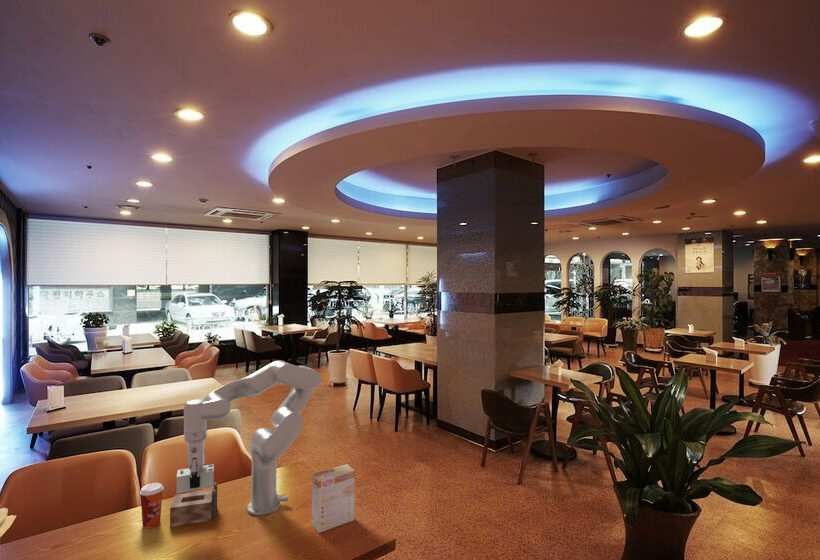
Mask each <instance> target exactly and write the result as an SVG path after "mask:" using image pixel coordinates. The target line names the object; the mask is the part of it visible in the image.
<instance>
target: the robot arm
mask: <svg viewBox="0 0 820 560" xmlns="http://www.w3.org/2000/svg"><path fill="white" fill-rule="evenodd" d="M321 383H322V376H321V374H320V372H319V371H318V370H316V369H313V368H311V367H309V366H306V365H295V364H292V363H289V362H286V361H285V360H280V359H279V360H275V361H272V362H270V363H268V364H267V365H266V366H265V365H264V367H262V368H260V369H258V370H256V371H255V372H253V373H252V374H249V375H248V376H245V377H243V378H239V379H236V380H234V381H231V382H228V383H225V384H224V385H222V386H220V387H218V388H216V389H214V390H213V391H211V392H210V393H208V394H207V395H206V396H205V397H204V399H196V398H195V399H192V400H188V401H185V403H184V405H183V441H184V443H187V467H188V469H189V470H191V472H190V489H192V488H198V487H200V476H199V468H203V466H205V465H204V464H205V460H206V458H205V457H206V456H205V455H206V453H205V451H206V450H205V448H206V446H205V445H206V444H205V439H207V438H208V420H218V419H219V420H220V419H221V420H222V419H223V418H225V417H227V416H228V415H229V414H230V413H231V410H232V405H231V402H233V401H235V400H238V399H241V398H247V397H248V398H251V397H256V396H257V397H258V396H259V395H261V394H262V393H264V392H266V391H267V390H269V389H271V388H273V387H274V386H276V385H277V384H281V385H283V386H286V387H290V388H291V389H290V392H289V394H288V395H287V397H286V398H285V399H284V400H283V401H282V403H281V404H280V405H279V407H277V409H276V410H275V411H274V413H273V414H272V415H271V418H270V422H271V425H272V426H273V427H274V430H272V429H271V428H269V427H261V428H258V429H256V430H255V431H254V432H253V433H252V435H251V437H250V442H249V447H250V455H251V492H250V493H251V498H250V500H251V501H250V502H249V503H248V505H247V507H246V510H247V512H248V513H249V514H250V515H254V516H266V515H269V514H272V513H274V512H276V511H278V509H280V507H281V502H283V503H284V502H289V496H288V495H285V493H284V494H279V493H278V491H277V469H278V466H277V465H278V463H277V460H278V459H280V458H281V457H282V456H283V455H284V454H285V452H286V451H287V450H288V449H289V448H290V446H291V445H292V443H294V442H295V440H296V439H297V437H299V434H300V433H301V431H302V429H303V426H304V419H303V416H302V414H301V413H302V412H303V410H304V408H305V407H306V406H307V405H308V403H309V400H310V399H311V398H310V397H311V391H313V390H316V389H317V388H318V387H319V386H320V385H321ZM196 467H198V468H196ZM196 469H197V471H196Z"/></svg>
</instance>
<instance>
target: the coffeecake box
mask: <svg viewBox="0 0 820 560" xmlns="http://www.w3.org/2000/svg"><path fill="white" fill-rule="evenodd" d="M355 472H356V471H355V469H354V468H352V467H351V466H350V465H349V464H346V463H345V464H342V465H339V466H335V467H332V468H328V469H324V470H322V471H317V472H314V473H311V526H312V528H314V529H315V531H316V532H317V534H321V533H323V532H325V531H329V530H330V529H334V528H336V527H340V526H342V525H346V524H348V523H350V522H353V521H355V484H356V483H355V481H356V480H355Z"/></svg>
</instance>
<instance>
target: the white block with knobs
mask: <svg viewBox="0 0 820 560" xmlns="http://www.w3.org/2000/svg"><path fill="white" fill-rule="evenodd" d="M214 465H215V464H213V463H212V464H206V465H204V466H203V468H199V476H200V487H198V488H192V489H190V472H191V470H189V469H188V468H181V469H178V470H177V473H176V479H175V480H176V481H175V482H176V495H179V494H185V493H188V492H189V493H190V492H195V491H199V490H204V489H210V488H214V483H215V480H214V479H215V473H214V471H215V469H214V467H215V466H214ZM196 468H198V467H196ZM196 471H197V469H196Z"/></svg>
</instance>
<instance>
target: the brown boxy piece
mask: <svg viewBox="0 0 820 560" xmlns="http://www.w3.org/2000/svg"><path fill="white" fill-rule="evenodd" d="M217 509H218V482H214V487H213V489H210V490H203V491H196V492H195V491H193V492H189V493H188V492H186V493H178V494H175V495H174V498H173V499H172V503H171V504H170V508H169V527H177V526H183V525H188V524H196V523H197V524H198V523H204V522H211V521H212V519H216V511H217Z"/></svg>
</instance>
